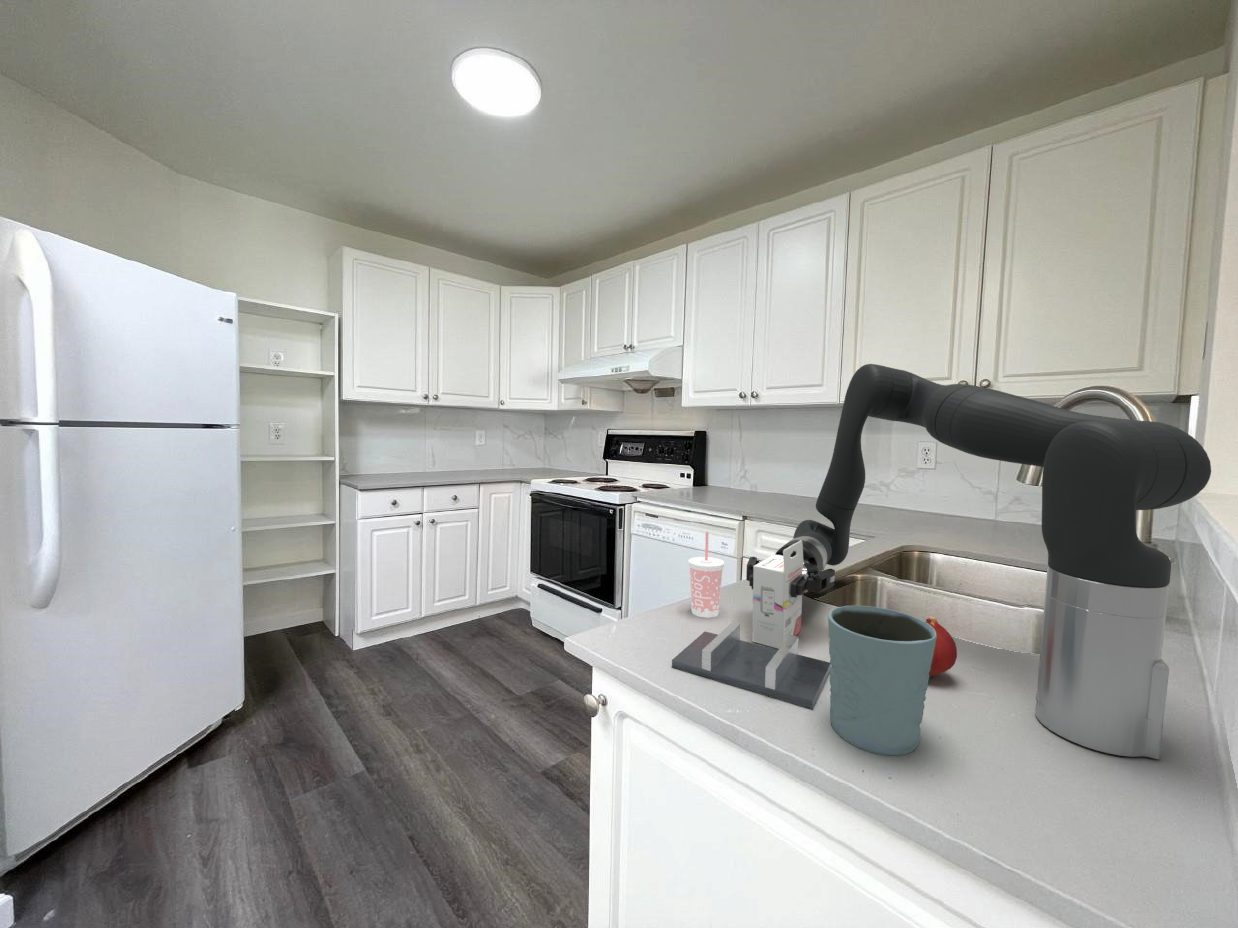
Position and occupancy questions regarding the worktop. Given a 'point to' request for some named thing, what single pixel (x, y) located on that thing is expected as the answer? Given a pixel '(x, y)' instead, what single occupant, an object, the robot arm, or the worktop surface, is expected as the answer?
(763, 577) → the ink cartridge box
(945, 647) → the onion
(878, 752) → the teal ceramic vase
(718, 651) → the rail channel
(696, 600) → the beverage cup
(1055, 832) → the worktop surface
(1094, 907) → the worktop surface
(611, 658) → the worktop surface
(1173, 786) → the worktop surface
